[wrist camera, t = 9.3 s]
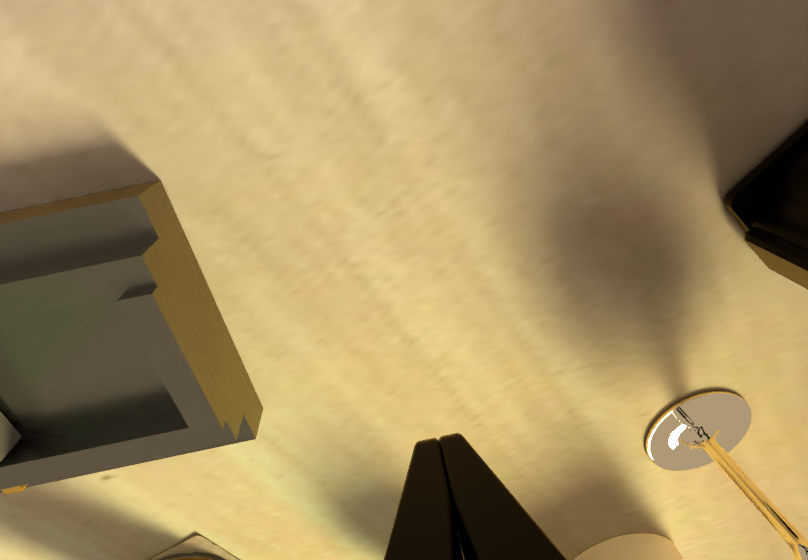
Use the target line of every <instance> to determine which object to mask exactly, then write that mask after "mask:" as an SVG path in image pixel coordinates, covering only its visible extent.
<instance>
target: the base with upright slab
mask: <svg viewBox="0 0 808 560" xmlns="http://www.w3.org/2000/svg"><path fill="white" fill-rule="evenodd" d="M574 560H684V558H683V557H682V555H681V554H680V552H679V551H678V549H677V548H676V546H675V545H674V543H673V542H672V541H670V540H669V539H667V538H666V537H663V536H659V535H656V534H646V533H637V534H629V535H622V536H619V537H615V538H612V539H608V540H605V541H603V542H601V543H599V544H597V545H594V546H592V547H590V548H589V549H587V550H586V551H584V552H583V553H581V554H580V555H578V556H577V557H576V558H575V559H574Z"/></svg>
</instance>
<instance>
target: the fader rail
mask: <svg viewBox="0 0 808 560" xmlns="http://www.w3.org/2000/svg"><path fill="white" fill-rule="evenodd" d="M0 411H1V412H2V414H3V415H4V416H5V417H6V418H7V420H8V421H9V422H10V423H11V424H12V426H13V427H14V428H15V429H16V430H17V432H18V433H19V434H20V435H21V436H22V437H21V438H20V439H19V441H18V442H17V443H16V444H15V445H14V447H13V448H12V449H11V450H10V451H9V453H8V454H7V455H6V456H5V457H4V458H3V460H2V461H1V462H0V493H1V492H3V493H4V494H5V495H7V494H11V493H16V492H21V491H23V490H24V489H25V487H30V486H35V485H39V484H44V483H49V482H54V481H58V480H63V479H68V478H73V477H77V476H82V475H87V474H92V473H96V472H101V471H106V470H111V469H115V468H120V467H125V466H130V465H134V464H139V463H144V462H149V461H153V460H158V459H163V458H168V457H172V456H177V455H182V454H187V453H191V452H196V451H201V450H206V449H210V448H215V447H220V446H225V445H229V444H234V443H239V442H244V441H248V440H253V439H256V435H257V431H258V427H259V423H260V419H261V415H262V411H263V407H262V405H261V403H260V401H259V398H258V396H257V394H256V392H255V389H254V387H253V385H252V383H251V381H250V378H249V376H248V374H247V372H246V369H245V367H244V365H243V363H242V360H241V358H240V356H239V354H238V352H237V349H236V347H235V345H234V343H233V340H232V338H231V336H230V334H229V332H228V329H227V327H226V325H225V323H224V320H223V318H222V316H221V314H220V311H219V309H218V307H217V305H216V303H215V300H214V298H213V296H212V294H211V291H210V289H209V287H208V285H207V283H206V280H205V278H204V276H203V274H202V271H201V269H200V267H199V265H198V262H197V260H196V258H195V256H194V254H193V251H192V249H191V247H190V245H189V242H188V240H187V238H186V236H185V234H184V231H183V229H182V227H181V225H180V222H179V220H178V218H177V216H176V213H175V211H174V209H173V207H172V205H171V202H170V200H169V198H168V196H167V193H166V191H165V189H164V187H163V185H162V182H161V180H158V181H154V182H149V183H144V184H139V185H134V186H129V187H125V188H120V189H115V190H110V191H105V192H100V193H95V194H91V195H86V196H81V197H76V198H71V199H66V200H61V201H57V202H52V203H47V204H42V205H37V206H32V207H28V208H23V209H18V210H13V211H8V212H3V213H0Z"/></svg>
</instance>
